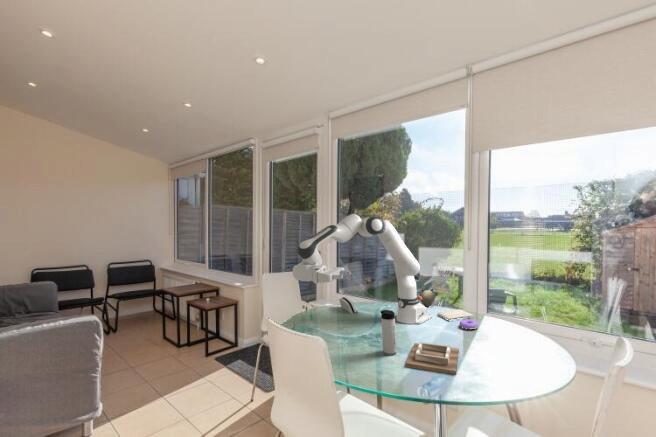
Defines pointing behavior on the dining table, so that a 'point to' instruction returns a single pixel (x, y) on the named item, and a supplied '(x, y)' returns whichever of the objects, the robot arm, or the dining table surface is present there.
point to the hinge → (347, 305)
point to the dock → (433, 358)
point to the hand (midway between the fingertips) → (346, 274)
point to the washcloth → (454, 314)
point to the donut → (468, 324)
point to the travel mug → (388, 332)
